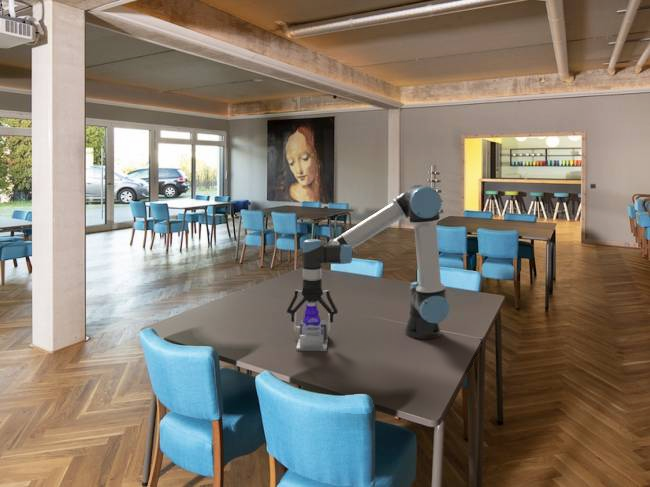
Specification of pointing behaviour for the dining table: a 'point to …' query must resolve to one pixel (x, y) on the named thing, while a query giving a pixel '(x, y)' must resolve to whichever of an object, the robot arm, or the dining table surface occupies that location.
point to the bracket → (312, 342)
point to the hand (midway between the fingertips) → (312, 329)
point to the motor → (323, 324)
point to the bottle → (311, 320)
